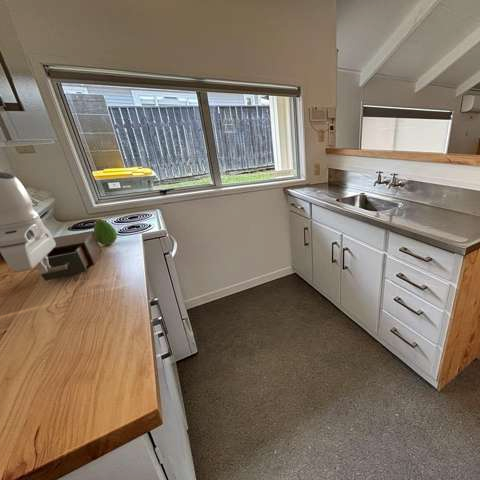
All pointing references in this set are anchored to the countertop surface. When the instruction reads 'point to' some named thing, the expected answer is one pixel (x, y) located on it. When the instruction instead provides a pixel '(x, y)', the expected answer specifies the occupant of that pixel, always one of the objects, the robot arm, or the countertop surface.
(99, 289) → the countertop surface
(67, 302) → the countertop surface
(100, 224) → the avocado
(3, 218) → the robot arm
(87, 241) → the cabinet
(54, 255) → the drawer
